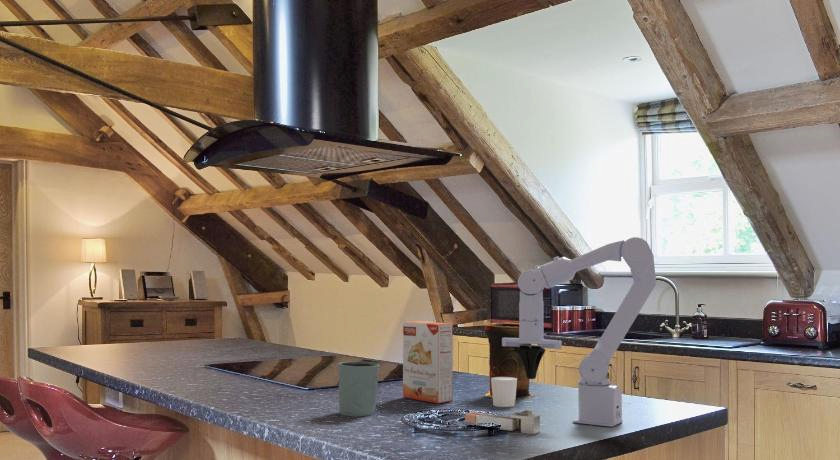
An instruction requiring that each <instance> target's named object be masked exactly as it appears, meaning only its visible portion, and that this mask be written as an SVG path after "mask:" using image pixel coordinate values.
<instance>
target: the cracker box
mask: <svg viewBox="0 0 840 460" xmlns="http://www.w3.org/2000/svg"><path fill="white" fill-rule="evenodd" d="M402 324H403V326H402V334H403V335H402V336H403V337H402V338H403V339H402V341H403V343H402V344H403V345H402V347H403V348H402V397H403V398H406V399H410V400H411V399H412V400H417V401H423V402H428V403H432V404H439V405H440V404H445V403H449V402H450V403H451V402H453V385H454V383H453V380H454V379H453V373H454V372H453V367H454V365H453V363H454V362H453V357H454V356H453V355H454V354H453V351H454V350H453V349H454V347H453V346H454V345H453V341H454V340H453V339H454V338H453V336H454V332H453V329H454V325H453V323H447V322H438V321H437V322H436V321H425V320H407V321H406V320H405V321H403V322H402Z"/></svg>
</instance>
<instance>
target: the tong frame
mask: <svg viewBox="0 0 840 460" xmlns="http://www.w3.org/2000/svg"><path fill="white" fill-rule="evenodd" d="M509 415H510V417H511V418H519V419H521V428H520V433H521V434H528V435H535V434H538V433H540V432H541V415H540V414H533V413H532V414H528V413H527V412H523V411H521V412H515V413H512V414H509ZM511 418H502V417H493V416H485V415H477V414H470V413H466V414H464V422H465V421H466V422H473V423H494V424H500V425H501V428H500V429H499V430H502V431H512V432H513V431H515V429H514V419H511Z"/></svg>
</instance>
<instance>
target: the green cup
mask: <svg viewBox="0 0 840 460" xmlns="http://www.w3.org/2000/svg"><path fill="white" fill-rule="evenodd" d="M337 367H338V368H337V369H338V371H337V372H338V396H339V401H338V403H339V406H338V407H339V414H340V415H341V416H345V417H346V416H347V417H367V416H368V417H369V416H373V415H375V413H376V404H377V401H376V400H377V396H378V384H379V383H378V382H379V375H380V373H379V372H380V363H377V362H372V361H342V362H339V363H338V364H337Z"/></svg>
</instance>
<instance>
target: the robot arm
mask: <svg viewBox="0 0 840 460" xmlns="http://www.w3.org/2000/svg"><path fill="white" fill-rule="evenodd" d="M622 258H623V261H625V263H626V265H627V266H628V267H629V268H630V273H631V277H632V279H633V282H632V285H631V286H630V288H629V290H628V292H627V294H626V295H625V297H624V298H623V300H622V302H621V304H620V305H619V307H618V309H617V310H616V312H615V313H614V315H613V316H612V318H611V320H610V322H609V323H608V325H607V327H606V328H605V331H604V332H603V334H602V335H601V336H600V339H599V340H598V341H597V343H596V345H595V346H594V348H593V350H592V351H591V352H590V353H588V354H586V355H585V356H584V358H583V359H582V360H581V361H580V363H579V365H578V373H579V375H580V378H581V379H579V380H578V381H577V382H578V391H577V392H578V417H577V418H575V419H573V420H572V423H573V424H574V423H575V424H582V425H583V424H585V425H590V426H591V425H593V426H601V427H611V428H612V427H615V426H617V425H618V424H620V423H623V422H624V421H623V416H622V415H623V412H622V411H623V407H622V403H623V397H622V395H623V394H622V389H621V387H620V386H619V385H613V384H611V380H610V379H608V377H607V375H608V372H609V369H610V362H611V360H612V358H613V357H614V355H615V353H616V351H617V350H618V348H619V347H620V345H621V344H622V341H623V340H624V338H625V337H626V335H627V333H628V332H629V330H630V328H631V326H633V323H634V322H635V320H636V318H637V316H638V315H639V314H640V311H641V310H642V309H643V307H644V305H645V304H646V302H647V300H648V298H649V297H650V296H651V294H652V292H653V290H654V289H655V287H656V285H657V279H656V270H655V268H656V267H655V259H654V258H655V256H654V254H653V252H652V249H651V247H650V244H649V243H648V242H647V240H645V238H644V239H643V238H641V237H639V236H634V237H633V236H632V237H630V238H628V239H626V240H618V241H615V242H611V243H606V244H605V245H603V246H600V247H598V248H595V249H593V250H590V251H589V252H586V253H583V254H582V255H580V256H576V257H575V258H572V259H570V258H568V257H566V256H562V257H560V256H558V255H557V256H555V257H552V259H553V260H552V261H549V262H547V263H544V264H541V265H539V264H536V265H534V269H532V268H531V269H526V270H525V271H523V272H522V273H521V274H519V276H518V279H517V285H518V289H519V302H518V303H519V305H518V306H519V307H518V311H519V312H518V314H519V315H518V316H519V317H518V318H519V319H518V320H519V338H502V346H515V347H520V348H519V349H518V354H519V355H520V357H521V359H522V362H523V364H524V367H525V371H526V375H527V379H530V380H535V379H537V374H538V369H539V365H540V363H541V361H542V358H543V356H544V355H545V352H546V349H548V350H549V349H550V350H562V347H563V345H562V344H563V341H562V340H558V339H546V338H544V334H545V333H544V332H545V330H544V328H545V327H544V323H545V322H544V320H545V319H544V316H545V315H544V310H545V309H544V300H543V299H544V297H543V296H544V294H543V293H544V289H551V288H554V287H556V286H559V285H561V284H564V283H566V282H570V281H573V279H574V278H575V275H576V273H577V272H579V271H582V270H585V269H588V268H591V267H594V266H596V265H599V264H602V263H605V262H608V261H614V262H622ZM520 344H531V345H520Z"/></svg>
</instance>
